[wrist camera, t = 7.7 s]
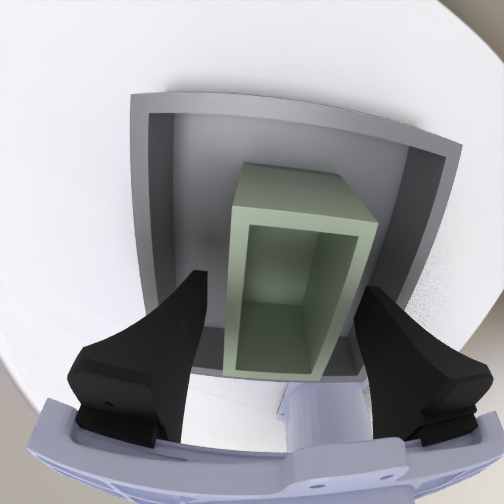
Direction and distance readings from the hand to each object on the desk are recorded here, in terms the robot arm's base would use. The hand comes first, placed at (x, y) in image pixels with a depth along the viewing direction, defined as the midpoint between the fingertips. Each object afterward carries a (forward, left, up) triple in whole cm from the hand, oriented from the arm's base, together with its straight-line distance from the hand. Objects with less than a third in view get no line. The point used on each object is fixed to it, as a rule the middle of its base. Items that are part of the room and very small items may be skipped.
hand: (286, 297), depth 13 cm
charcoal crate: (0, 0, -5) cm, 5 cm away
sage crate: (0, 0, -5) cm, 5 cm away
